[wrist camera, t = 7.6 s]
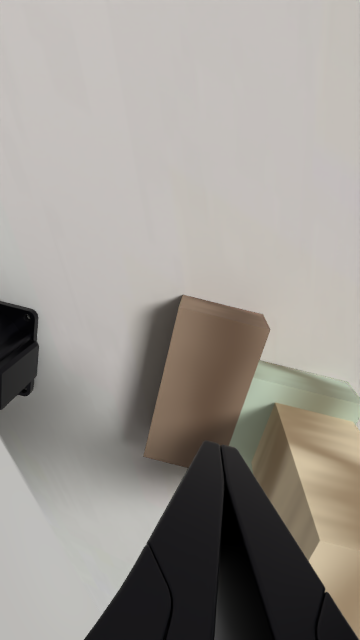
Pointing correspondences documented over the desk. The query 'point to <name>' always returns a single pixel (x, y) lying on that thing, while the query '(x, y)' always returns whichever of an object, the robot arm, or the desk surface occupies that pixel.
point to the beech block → (317, 495)
